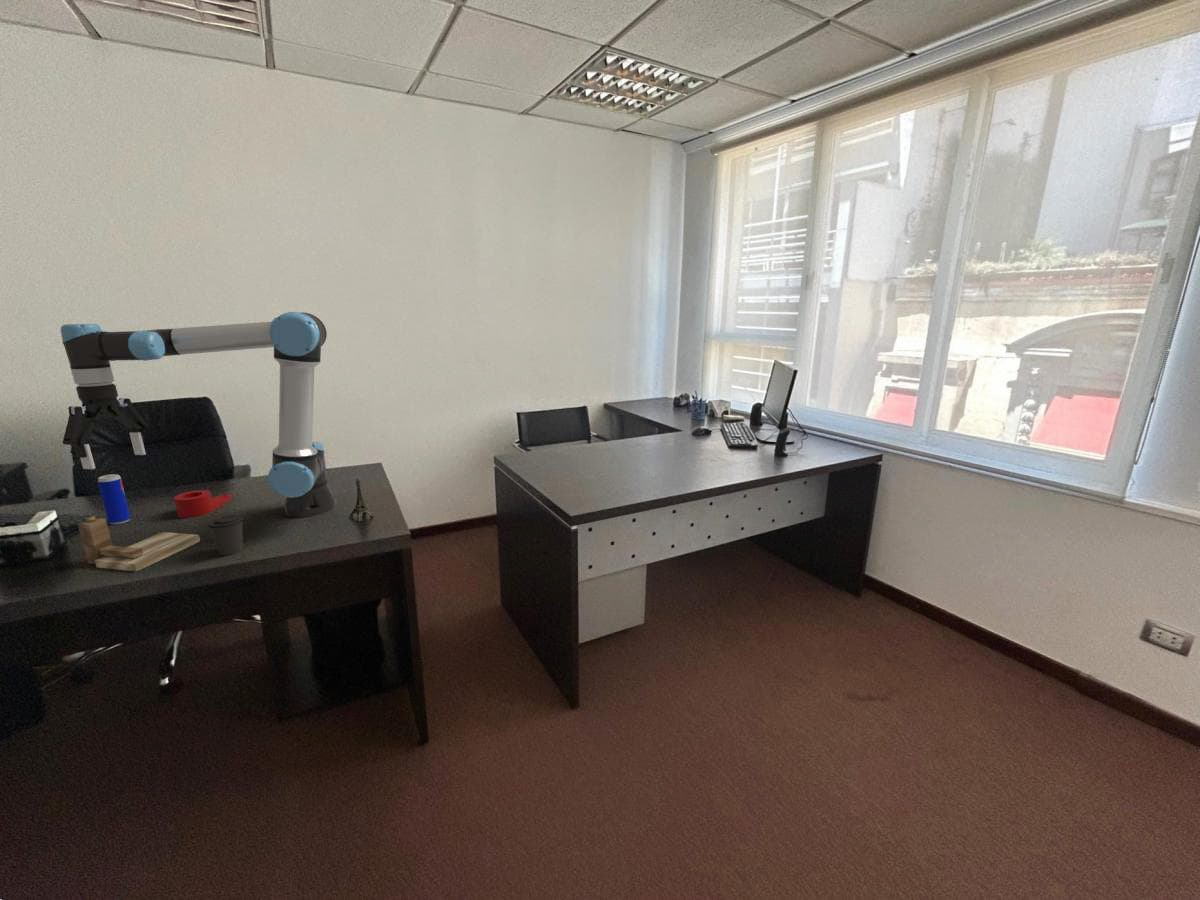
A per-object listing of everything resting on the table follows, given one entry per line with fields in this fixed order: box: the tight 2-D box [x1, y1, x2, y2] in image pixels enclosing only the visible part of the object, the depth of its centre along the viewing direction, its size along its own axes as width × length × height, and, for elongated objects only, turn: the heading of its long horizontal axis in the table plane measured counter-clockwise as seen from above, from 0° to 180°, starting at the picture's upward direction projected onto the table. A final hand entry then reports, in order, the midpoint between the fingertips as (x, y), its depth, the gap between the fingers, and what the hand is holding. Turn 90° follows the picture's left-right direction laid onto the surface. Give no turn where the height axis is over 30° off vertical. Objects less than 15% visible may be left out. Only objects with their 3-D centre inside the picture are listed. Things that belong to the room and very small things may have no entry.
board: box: [95, 531, 201, 572], centre depth 137 cm, size 12×18×2 cm, turn 172°
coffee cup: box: [207, 514, 245, 557], centre depth 138 cm, size 8×8×10 cm
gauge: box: [77, 515, 143, 565], centre depth 131 cm, size 14×4×12 cm, turn 82°
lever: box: [173, 489, 233, 519], centre depth 169 cm, size 18×9×7 cm, turn 171°
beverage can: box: [97, 473, 132, 525], centre depth 156 cm, size 5×5×15 cm
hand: (116, 461), depth 138 cm, fingers open, 13 cm apart
